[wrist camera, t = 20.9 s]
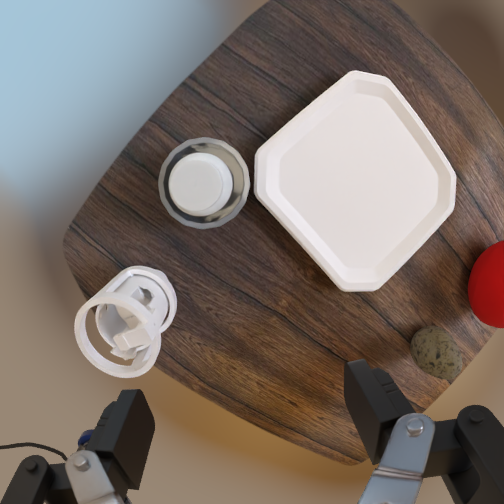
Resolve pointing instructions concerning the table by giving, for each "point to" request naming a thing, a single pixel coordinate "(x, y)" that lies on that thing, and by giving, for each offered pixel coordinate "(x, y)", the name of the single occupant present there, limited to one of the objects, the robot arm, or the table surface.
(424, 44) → the table surface
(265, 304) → the table surface
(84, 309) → the white ringed tube holder
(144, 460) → the robot arm
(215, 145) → the grey faceted pot
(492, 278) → the tomato
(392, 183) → the plate
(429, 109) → the table surface
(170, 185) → the pill bottle
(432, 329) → the decorative egg
